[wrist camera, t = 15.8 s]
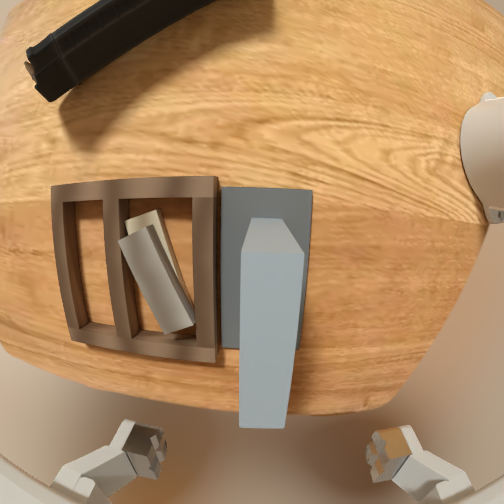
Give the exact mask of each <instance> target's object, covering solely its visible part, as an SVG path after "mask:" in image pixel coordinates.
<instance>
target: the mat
mask: <svg viewBox="0 0 504 504" xmlns="http://www.w3.org/2000/svg"><path fill="white" fill-rule="evenodd" d="M311 211H312V190H301V189H282V188H256V187H222V192H221V335H222V347H224V348H240V282H241V250H242V247H243V244H244V241H245V237H246V234H247V231H248V228H249V225H250V222H251V218H275V219H282V220H283V221H284V223H285V224H286V226H287V227H288V229H289V230H290V232H291V234H292V235H293V237H294V238H295V240H296V241H297V243H298V244H299V246H300V248H301V249H302V251H303V252H304V267H303V279H302V291H301V302H300V312H299V321H298V331H297V340H296V348H295V350H299V346H300V338H301V330H302V321H303V312H304V302H305V292H306V281H307V269H308V257H309V243H310V228H311Z"/></svg>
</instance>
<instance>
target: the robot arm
mask: <svg viewBox="0 0 504 504" xmlns="http://www.w3.org/2000/svg"><path fill="white" fill-rule="evenodd" d="M460 146H461V155H462V161H463V165H464V169H465V172H466V175H467V178H468V180H469V183H470V185H471V187H472V189H473V190H474V192H475V193H476V195H477V196H478V198H479V199H480V201H481V202H482V204H483V207H484V211H485V215H486V218H487V220H488V222H489V223H491V224H497V223H503V222H504V97H500V98H497V97H496V96H495V95H494V94H492V93H491V92H486V93H483V95H482V97H481V99H480V102H479V103H478V104H477V105H475V106H473V107H472V108H470V109H469V110H468V112H467V113H466V115H465V117H464V119H463V122H462V126H461V134H460ZM162 436H163V429H162V428H160V427H156V426H151V425H147V424H143V423H139V422H136V421H132V420H128V419H125V420H124V421H123V422H122V424H121V425H120V427H119V429H118V431H117V433H116V434H115V436H114V438H113V440H112V442H111V444H110V445H109V446H104V447H102V448H100V449H98V450H96V451H94V452H91V453H89V454H87V455H85V456H83V457H81V458H79V459H77V460H75V461H72V462H70V463H68V464H66V465H63V467H62V468H61V470H60V471H59V473H58V474H57V476H56V478H55V479H54V481H53V483H52V484H51V486H50V487H49V486H47V485H46V484H44V483H42V482H41V481H39V480H37V479H36V478H34V477H33V476H31V475H30V474H28V473H26V472H25V471H23V470H22V469H20V468H19V467H18V466H16V465H15V464H13V463H12V462H10V461H9V460H8V459H6V458H5V457H4V456H3V455H1V454H0V504H113V503H112V502H111V501H110V500H109V499H108V497H109V496H110V495H112V494H113V493H115V492H116V491H118V490H119V489H121V488H122V487H123V486H125V485H126V484H128V483H129V482H130V481H132V480H133V479H134V478H136V477H137V475H139V476H143V477H147V478H151V479H156V480H158V477H159V474H160V471H161V468H162V467H161V465H160V462H162V461H163V460H164V459H165V456H166V452H167V443H166V440H165V439H164V438H163V437H162ZM372 439H373V440H372V441H371V442H370V443H368V446H367V448H366V460H367V463H368V464H369V465H371V466H372V468H371V470H370V473H371V476H372V480H373V483H376V482H381V481H386V480H390V479H392V481H394V482H395V483H396V484H397V485H398V486H400V487H401V488H402V489H403V490H404V491H405V492H407V493H408V494H409V495H410V496H412V497H413V498H414V499H415V500H416V501H418V502H419V503H418V504H504V474H503V475H502V476H500V477H499V478H497V479H495V480H494V481H492V482H491V483H489V484H487V485H486V486H484V487H482V488H480V489H479V490H477V491H475V490H474V488H473V486H472V484H471V483H470V481H469V479H468V477H467V475H466V473H465V471H463V470H461V469H459V468H457V467H455V466H453V465H452V464H450V463H448V462H446V461H444V460H443V459H441V458H439V457H437V456H435V455H433V454H432V453H430V452H428V451H423V449H422V447H421V445H420V443H419V441H418V439H417V437H416V435H415V433H414V431H413V430H412V428H411V426H410V425H405V426H400V427H394V428H389V429H384V430H379V431H375V432H374V433H373V435H372Z"/></svg>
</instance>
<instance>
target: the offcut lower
mask: <svg viewBox="0 0 504 504" xmlns="http://www.w3.org/2000/svg"><path fill="white" fill-rule="evenodd" d="M124 222H125V225H126V228H127V231H128V235H130V234H132V233H134V232H136V231H138V230H140V229H142V228H144V227H146V226H149V225H152V224H153V225H154V227H155V230H156V232H157V234H158V237H159V239H160V241H161V243H162V245H163V248H164V250H165V252H166V254H167V256H168V259H169V261H170V263H171V265H172V267H173V269H174V271H175V273H176V275H177V277H178V280H179V282H180V284H181V286H182V288H183V290H184V292H185V294H186V296H187V298H188V300H189V302H190V304H191V306H192V308H193V309H194V307H193V304H192V302H191V299H190V296H189V294H188V291H187V288H186V285H185V282H184V280H183V277H182V274H181V271H180V268H179V265H178V262H177V259H176V256H175V253H174V250H173V247H172V244H171V241H170V238H169V235H168V231H167V228H166V225H165V222H164V219H163V215H162V212H161V209H157V210H154V211H151V212H148V213H145V214H142V215H140V216H137V217H134V218H131V219H129V220H126V221H124ZM194 311H195V310H194ZM194 324H195V323H194Z"/></svg>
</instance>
